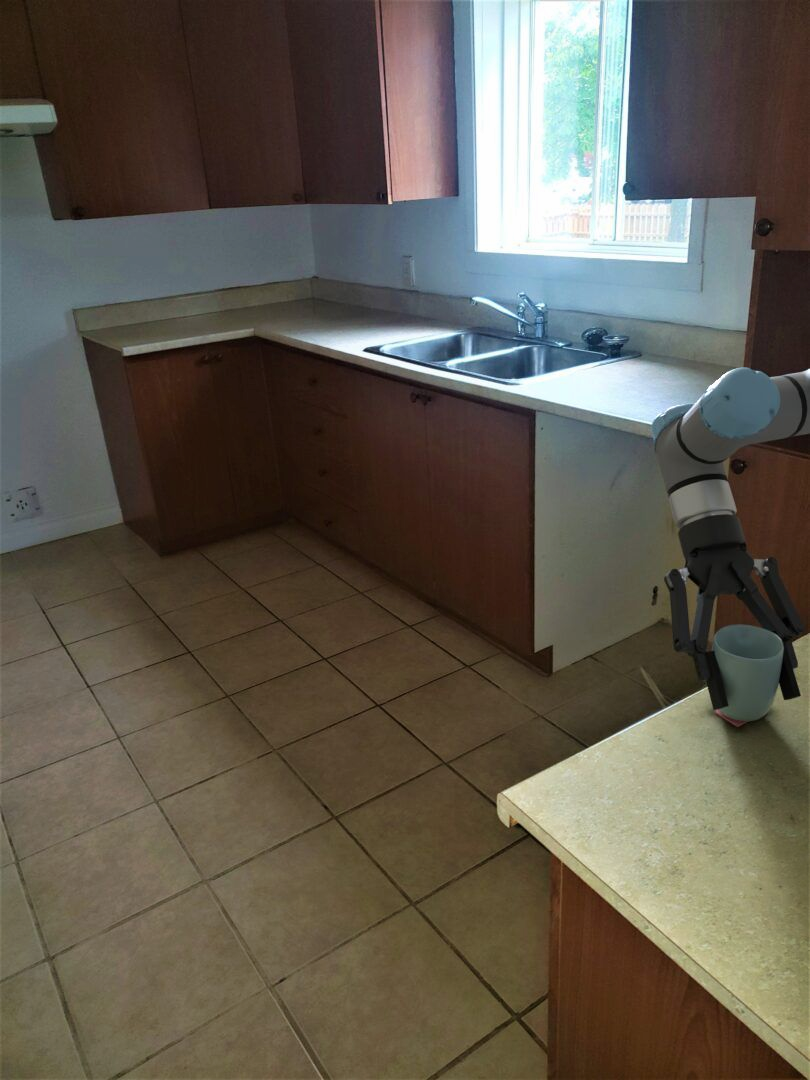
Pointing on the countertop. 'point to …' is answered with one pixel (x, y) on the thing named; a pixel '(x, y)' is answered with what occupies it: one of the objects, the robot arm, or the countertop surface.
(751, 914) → the countertop surface
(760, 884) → the countertop surface
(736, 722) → the eraser
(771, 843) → the countertop surface
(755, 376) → the robot arm
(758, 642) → the cup
